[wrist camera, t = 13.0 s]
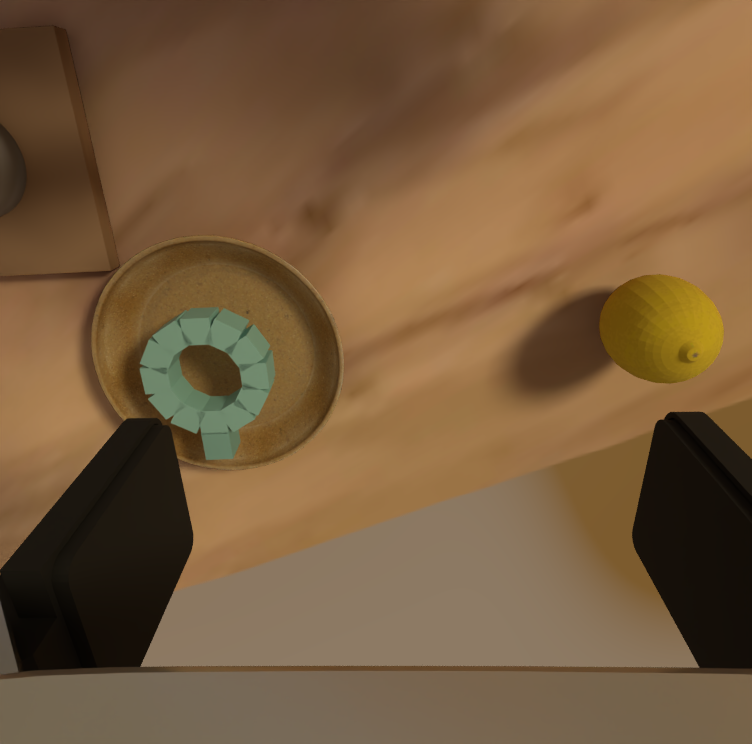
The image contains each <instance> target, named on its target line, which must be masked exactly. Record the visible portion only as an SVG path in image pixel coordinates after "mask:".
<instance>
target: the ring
mask: <svg viewBox="0 0 752 744" xmlns="http://www.w3.org/2000/svg"><path fill="white" fill-rule="evenodd" d="M248 323H249V320H248V319H246V318H244V317H242V316H239V315H237V314H235V313H233V312H231V311H229V310H227V309H225V308H223V310H222V311H221V312H220V313H219V308H218V307H208V308H191V309H190V310H189V311H186V310H185V311H184V312H182V313H181V314H179V315H178V316H176V317H175V318H173V319H172V320H170V321H169V322H167V323H166V324H164V325H163V326H162V327H161V328H160V329H159V330H158V331H157V332H156V333H155V334H153V335H152V337H151V338H150V339H149V341H148V343H147V346H146V349H145V351H144V354H143V357H142V359H141V362H140V364H142V365H143V366H142V367H141V368H140V373H141V377H142V382H143V386H144V390H145V394H152V395H151V396H150V397H149V398H148V400H149V401H150V402H151V403H152V404H153V405H154V406H155V408H156V409H157V410H158V411H159V412H160V413H161V414H162V415H163V417H164V418H165V419H168V418H170V417H171V416H173V415H174V416H173V419H172V421H171V423H172V424H175V425H177V426H179V427H182V428H184V429H186V430H189V431H191V432H193V433H196V434H197V432H198V430H199V429H201V436H202V441H203V446H204V451H205V456H206V460H219V459H233V458H234V456H235V454H236V451H237V449H238V447H239V444H240V442H241V441H240V435H239V429H240V428H241V427H243V426H245V425H246V424H248V423H250V422H251V421H253V420H254V419H255V418H256V415H257V416H258V415H259V413H260V411H261V409H262V407H263V405H264V403H265V401H266V399H267V396H268V394H269V392H270V390H271V387H272V385H273V382H274V380H275V379H274V377H275V367H274V359H273V352H272V350H268V349H269V347H270V344H269V343H268V342H267V340H266V339H265V338H264V336H263V335H262V334H261V332H260V331H259V330H258V329H257V327H256V326H255V325H254V324H253V325H251V326H250V327H248V328H246V327H247V325H248ZM189 345H211V346H213V347H215V348H217V349H219V350H222V351H224V352H226V353H228V355H229V356H230V357H231V358H232V360H233V361H234V362H235V363H236V365H237V366H238V367H239V368H240V375H241V381H242V388H240V389H238V390H237V391H235V392H234V393H232V394H230V395H229V396H209V395H207V394H205V393H202V392H200V391H198V390H196V389H194V388H193V387H192V386H191V385H190V383H189V382H188V381H187V380H186V379H185V378H184V376H183V375H182V371H181V366H180V361H179V357H180V355H181V352H182V350H183V349H184V348H186V347H187V346H189Z"/></svg>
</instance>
